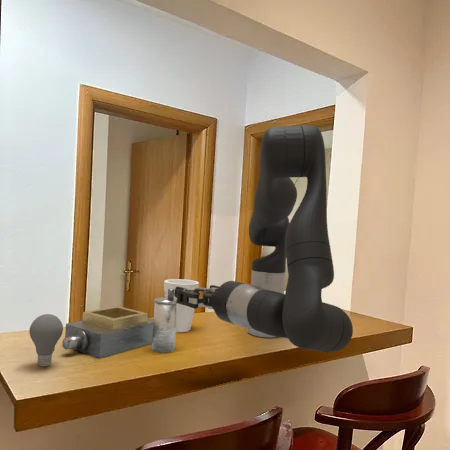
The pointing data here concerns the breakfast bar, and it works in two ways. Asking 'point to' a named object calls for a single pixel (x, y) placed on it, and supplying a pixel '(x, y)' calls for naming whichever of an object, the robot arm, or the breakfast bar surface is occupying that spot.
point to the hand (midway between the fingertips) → (194, 290)
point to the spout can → (164, 323)
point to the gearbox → (109, 331)
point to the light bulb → (45, 336)
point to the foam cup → (182, 311)
